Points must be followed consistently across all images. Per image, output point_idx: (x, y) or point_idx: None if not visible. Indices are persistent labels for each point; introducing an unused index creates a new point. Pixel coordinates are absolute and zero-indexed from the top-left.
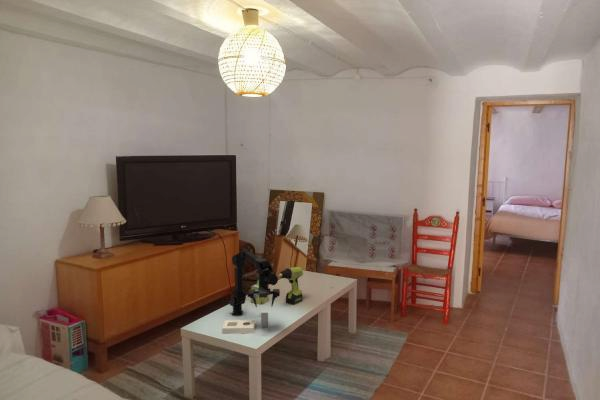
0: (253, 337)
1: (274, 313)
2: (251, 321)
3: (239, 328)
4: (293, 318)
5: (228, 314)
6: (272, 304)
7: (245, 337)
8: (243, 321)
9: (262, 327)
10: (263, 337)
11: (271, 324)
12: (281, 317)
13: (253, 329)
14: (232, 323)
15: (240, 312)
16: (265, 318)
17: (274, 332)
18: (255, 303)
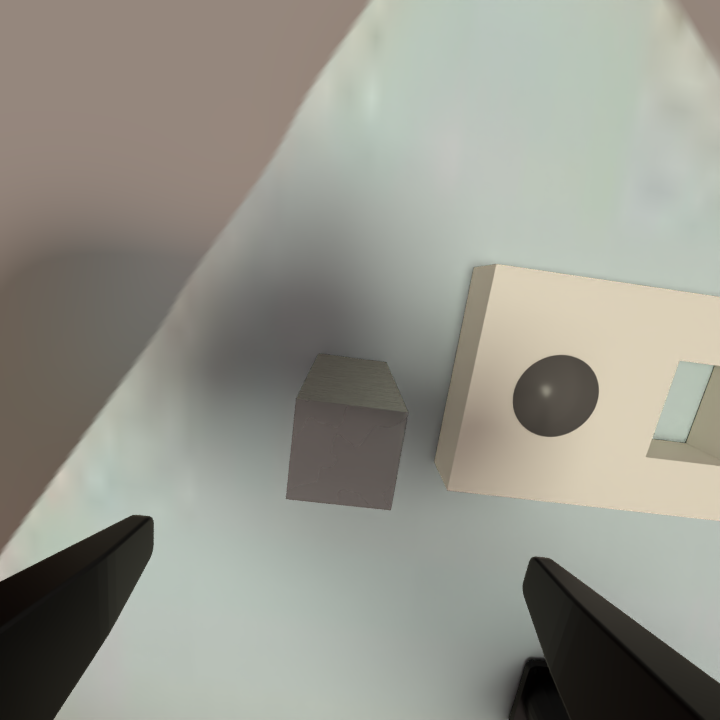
0: (489, 143)
1: (244, 655)
2: (493, 448)
3: (653, 288)
4: (63, 532)
5: None
6: (65, 557)
7: (571, 161)
8: (578, 463)
9: (374, 362)
10: (382, 119)
11: (279, 435)
12: (180, 569)
13: (487, 267)
14: (683, 456)
15: (545, 694)
16: (336, 386)
17: (255, 233)
18: (650, 652)
